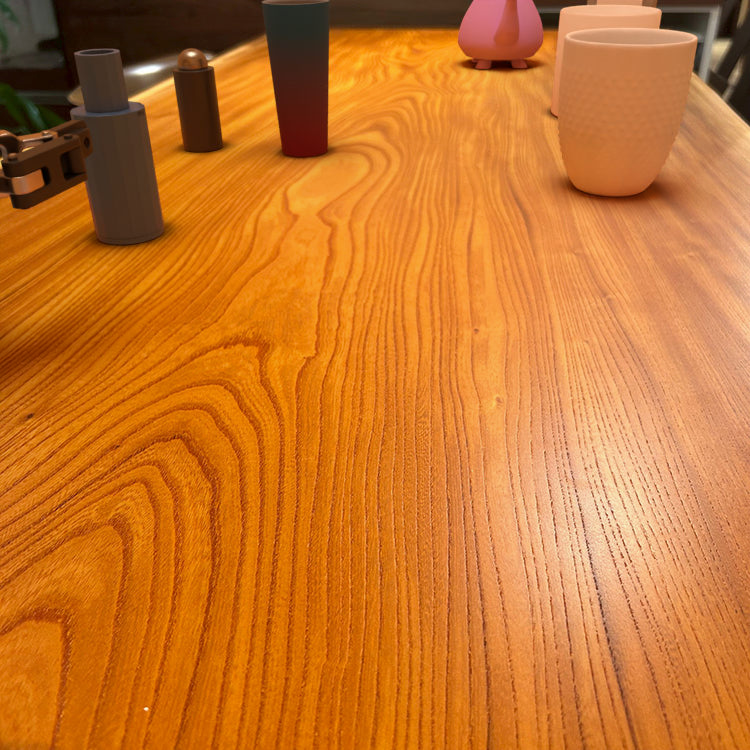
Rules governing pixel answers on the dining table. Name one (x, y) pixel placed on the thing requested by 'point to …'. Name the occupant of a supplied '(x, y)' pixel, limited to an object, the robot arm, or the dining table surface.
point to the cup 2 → (598, 19)
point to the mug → (621, 105)
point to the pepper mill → (197, 102)
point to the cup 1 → (299, 72)
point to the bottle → (117, 153)
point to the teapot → (500, 32)
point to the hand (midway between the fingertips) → (24, 134)
